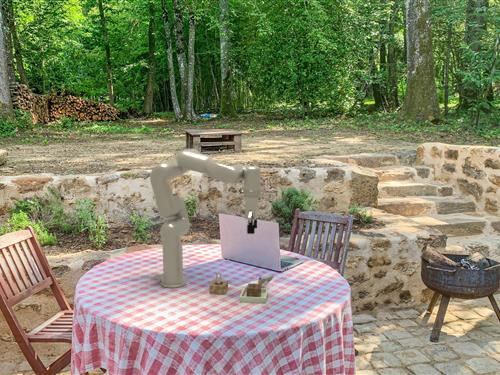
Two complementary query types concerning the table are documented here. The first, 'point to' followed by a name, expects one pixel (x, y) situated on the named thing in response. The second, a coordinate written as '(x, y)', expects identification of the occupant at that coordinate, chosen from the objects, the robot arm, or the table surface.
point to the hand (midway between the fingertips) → (252, 230)
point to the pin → (218, 279)
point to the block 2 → (254, 290)
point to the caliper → (264, 280)
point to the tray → (254, 299)
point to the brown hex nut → (218, 287)
